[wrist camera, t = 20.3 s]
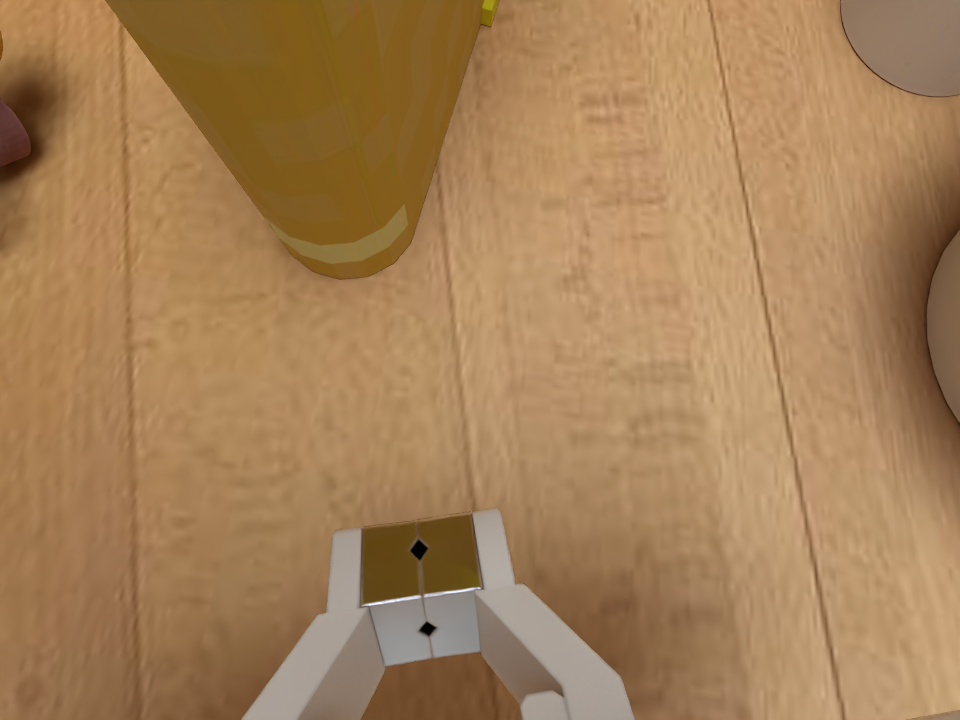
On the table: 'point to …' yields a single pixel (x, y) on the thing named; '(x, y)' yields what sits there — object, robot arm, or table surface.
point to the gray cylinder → (908, 42)
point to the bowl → (946, 324)
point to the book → (319, 108)
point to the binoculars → (11, 133)
